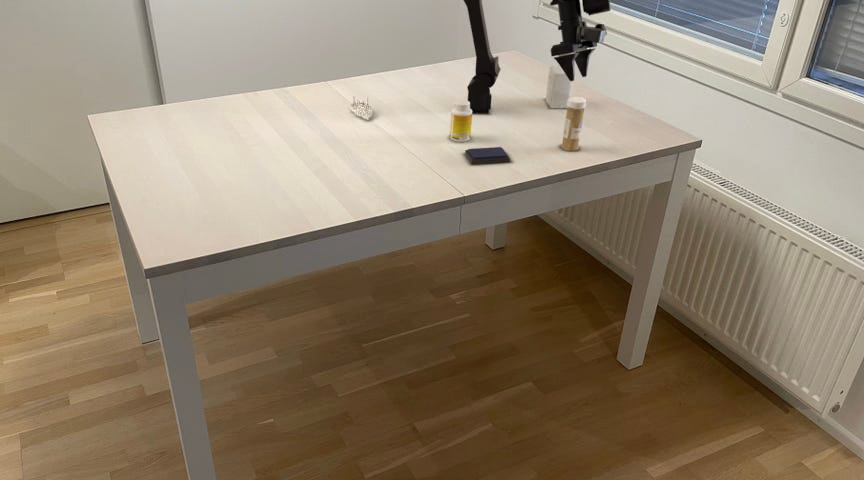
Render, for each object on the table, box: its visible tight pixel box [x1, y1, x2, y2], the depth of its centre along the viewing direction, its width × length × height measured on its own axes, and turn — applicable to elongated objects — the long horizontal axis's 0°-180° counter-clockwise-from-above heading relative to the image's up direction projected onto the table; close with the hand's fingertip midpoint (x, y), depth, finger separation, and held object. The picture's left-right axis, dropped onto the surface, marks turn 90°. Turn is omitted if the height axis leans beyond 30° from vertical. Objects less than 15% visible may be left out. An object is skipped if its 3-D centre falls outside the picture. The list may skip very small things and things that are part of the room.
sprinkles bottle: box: [561, 96, 587, 152], centre depth 187 cm, size 5×5×14 cm
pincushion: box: [348, 95, 374, 120], centre depth 209 cm, size 12×6×6 cm, turn 19°
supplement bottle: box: [449, 99, 473, 143], centre depth 193 cm, size 6×6×10 cm
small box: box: [545, 65, 573, 109], centre depth 216 cm, size 8×6×10 cm
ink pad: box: [464, 146, 511, 165], centre depth 185 cm, size 10×6×2 cm, turn 99°
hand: (578, 78), depth 196 cm, fingers open, 9 cm apart
